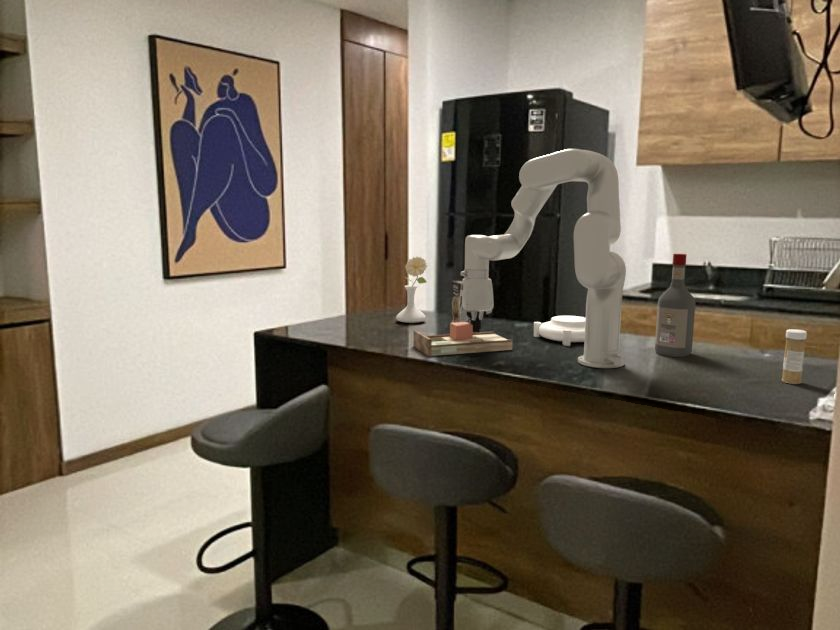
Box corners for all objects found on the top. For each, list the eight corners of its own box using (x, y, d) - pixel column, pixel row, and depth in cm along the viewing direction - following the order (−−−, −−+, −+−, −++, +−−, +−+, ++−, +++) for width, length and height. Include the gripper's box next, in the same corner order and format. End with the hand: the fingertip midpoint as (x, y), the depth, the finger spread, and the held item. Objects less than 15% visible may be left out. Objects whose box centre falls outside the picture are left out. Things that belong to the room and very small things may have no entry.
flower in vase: (389, 322, 249) (389, 256, 244) (408, 318, 258) (408, 254, 253) (417, 326, 241) (417, 258, 237) (435, 322, 250) (436, 256, 245)
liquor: (681, 358, 193) (689, 255, 188) (651, 353, 199) (658, 254, 194) (694, 353, 200) (701, 254, 195) (664, 348, 206) (671, 252, 201)
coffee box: (450, 323, 247) (451, 280, 244) (466, 322, 249) (467, 280, 246) (459, 328, 239) (459, 283, 236) (475, 327, 241) (476, 283, 238)
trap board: (512, 349, 204) (512, 333, 203) (428, 356, 195) (428, 339, 194) (493, 340, 217) (493, 325, 216) (413, 346, 208) (413, 330, 207)
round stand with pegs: (528, 344, 213) (529, 322, 212) (538, 330, 236) (538, 311, 235) (605, 349, 206) (606, 327, 205) (607, 335, 229) (608, 314, 228)
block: (472, 339, 207) (472, 324, 207) (456, 340, 206) (456, 325, 205) (465, 335, 212) (466, 321, 212) (449, 336, 211) (450, 322, 210)
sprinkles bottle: (784, 378, 171) (789, 328, 169) (803, 382, 168) (809, 330, 166) (778, 382, 168) (784, 330, 166) (798, 385, 165) (804, 332, 163)
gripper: (458, 276, 201) (457, 335, 205) (503, 275, 206) (501, 332, 209) (450, 274, 208) (449, 331, 212) (493, 272, 213) (492, 328, 216)
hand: (475, 331), depth 210 cm, fingers closed
